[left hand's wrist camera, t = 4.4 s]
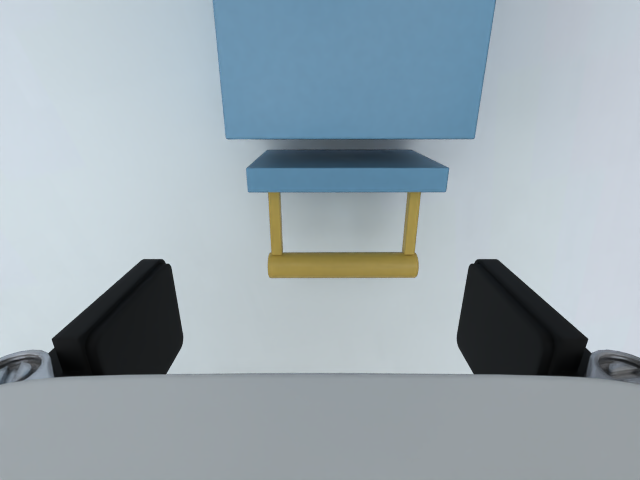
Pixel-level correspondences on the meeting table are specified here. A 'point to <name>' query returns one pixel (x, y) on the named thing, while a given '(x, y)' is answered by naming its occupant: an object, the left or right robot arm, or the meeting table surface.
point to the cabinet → (352, 67)
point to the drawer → (345, 176)
